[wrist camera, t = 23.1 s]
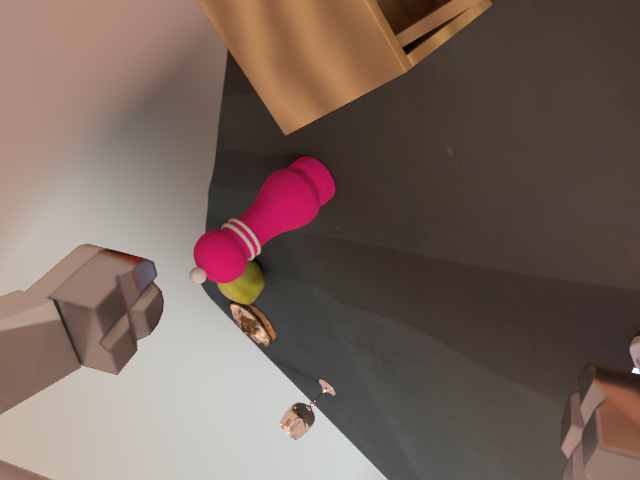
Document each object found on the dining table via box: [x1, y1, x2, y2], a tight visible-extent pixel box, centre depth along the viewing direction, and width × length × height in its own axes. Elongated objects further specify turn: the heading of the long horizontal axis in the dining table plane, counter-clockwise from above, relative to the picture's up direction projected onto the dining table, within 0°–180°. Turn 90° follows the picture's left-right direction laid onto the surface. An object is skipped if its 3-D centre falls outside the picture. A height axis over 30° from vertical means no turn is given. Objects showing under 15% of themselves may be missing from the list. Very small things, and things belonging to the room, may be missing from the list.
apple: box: [217, 260, 265, 304], centre depth 93 cm, size 8×9×8 cm
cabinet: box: [199, 0, 492, 135], centre depth 39 cm, size 15×12×11 cm
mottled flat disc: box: [230, 301, 277, 347], centre depth 113 cm, size 15×15×4 cm
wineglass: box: [280, 379, 335, 440], centre depth 107 cm, size 6×6×12 cm
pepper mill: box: [189, 156, 335, 284], centre depth 60 cm, size 7×7×20 cm
